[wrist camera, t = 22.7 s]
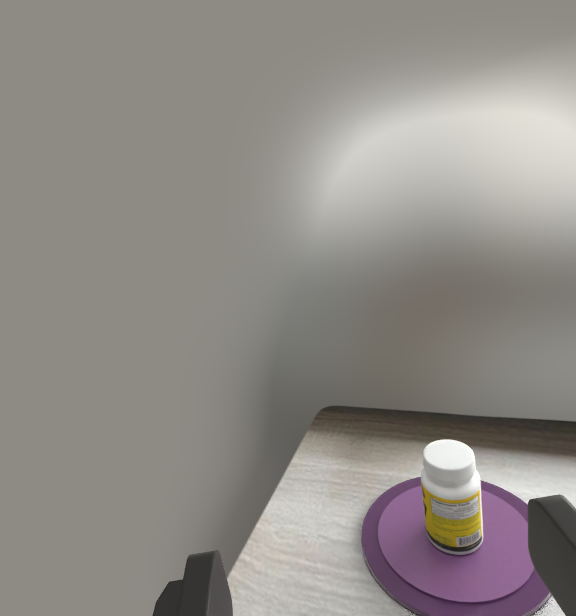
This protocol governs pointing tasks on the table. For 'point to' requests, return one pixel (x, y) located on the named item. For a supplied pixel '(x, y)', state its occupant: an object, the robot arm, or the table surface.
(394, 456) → the table surface
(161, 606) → the robot arm
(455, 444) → the supplement bottle
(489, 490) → the plum dish
